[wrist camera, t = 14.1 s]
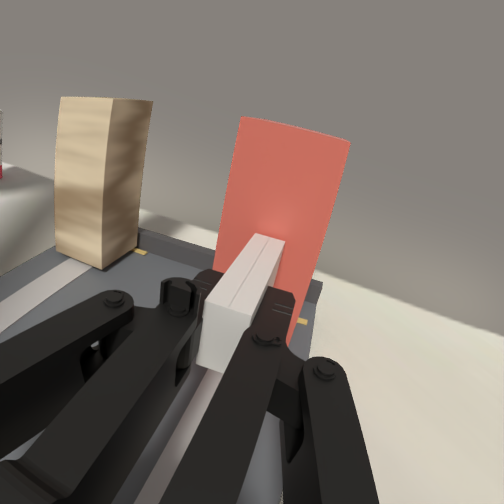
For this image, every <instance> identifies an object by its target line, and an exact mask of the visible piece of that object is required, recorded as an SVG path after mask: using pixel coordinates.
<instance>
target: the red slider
mask: <svg viewBox="0 0 504 504" xmlns="http://www.w3.org/2000/svg"><path fill="white" fill-rule="evenodd" d="M349 147H350V142H349V141H347V140H345V139H342V138H339V137H335V136H331V135H328V134H324V133H320V132H316V131H313V130H309V129H305V128H301V127H297V126H293V125H288V124H284V123H280V122H275V121H271V120H266V119H260V118H252V117H244V116H241V120H240V124H239V129H238V134H237V139H236V144H235V149H234V154H233V159H232V164H231V169H230V174H229V179H228V185H227V190H226V196H225V201H224V206H223V212H222V217H221V223H220V228H219V234H218V240H217V245H216V251H215V257H214V263H213V269H212V270H215V271H219V272H222V273H226V271H227V270H228V269H229V267H230V266H231V265H232V263H233V262H234V261H235V259H236V258H237V257H238V255H239V254H240V253H241V251H242V250H243V249H244V247H245V246H246V245H247V243H248V242H249V241H250V239H251V238H252V237H253V235H254V234H255V233H257V234H261V235H265V236H268V237H272V238H275V239H279V240H282V241H285V245H284V248H283V252H282V256H281V260H280V263H279V267H278V271H277V275H276V278H275V282H274V286H273V287H274V288H278V289H281V290H284V291H288V292H291V293H293V296H294V298H295V300H296V302H295V306H294V309H293V313H292V317H291V321H290V325H289V329H288V333H287V336H286V344H287V346H288V345H289V343H290V340H291V337H292V334H293V331H294V329H295V326H296V323H297V320H298V317H299V314H300V311H301V308H302V305H303V302H304V299H305V296H306V293H307V290H308V287H309V284H310V281H311V278H312V275H313V272H314V269H315V266H316V262H317V259H318V256H319V253H320V250H321V246H322V243H323V240H324V237H325V233H326V230H327V227H328V223H329V220H330V216H331V213H332V210H333V206H334V203H335V199H336V196H337V192H338V189H339V185H340V181H341V178H342V174H343V170H344V167H345V163H346V159H347V155H348V151H349Z"/></svg>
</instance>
